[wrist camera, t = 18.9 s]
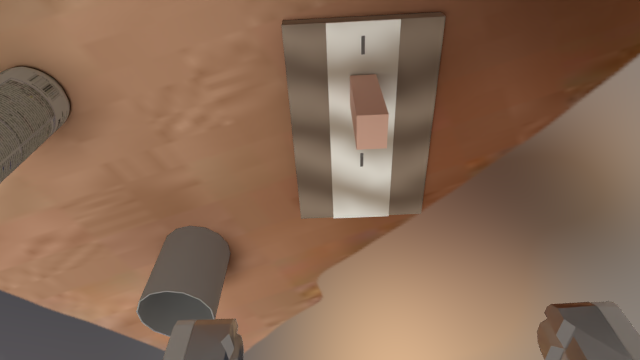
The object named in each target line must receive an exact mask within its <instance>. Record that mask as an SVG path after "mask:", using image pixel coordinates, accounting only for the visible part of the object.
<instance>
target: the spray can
mask: <svg viewBox="0 0 640 360" xmlns="http://www.w3.org/2000/svg"><path fill="white" fill-rule="evenodd" d="M69 112H70V104H69V100H68V98H67V96H66V94H65V92H64V90H63V89H62V87H61V86H60V85H59V84H58V83H57V82H56V81H55V80H54V79H53V78H52V77H51V76H49V75H47V74H45V73H43V72H41V71H39V70H36V69H32V68H28V67H15V68H11V69H7V70H5V71H3V72H1V73H0V183H1V182H2V181H3V180H4V179H5V178H6V177H7V176H8V175H9V174H10V173H12V172H13V171H14V170H15V169H16V168H17V167H18V166H19V165H20V164H21V163H22V162H23V161H24V160H25V159H27V158H28V157H29V156H30V155H31V154H32V153H33V152H34V151H35V150H36V149H37V148H38V147H39V146H40V145H41V144H42V143H44V142H45V141H46V140H47V139H48V138H49V137H50V136H51V135H52V134H53V133H54V132H55V131H56V130H57V129H59V128H60V127H61V126H62V125H63V124H64V122H65V121H66V119H67V118H68V116H69Z"/></svg>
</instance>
